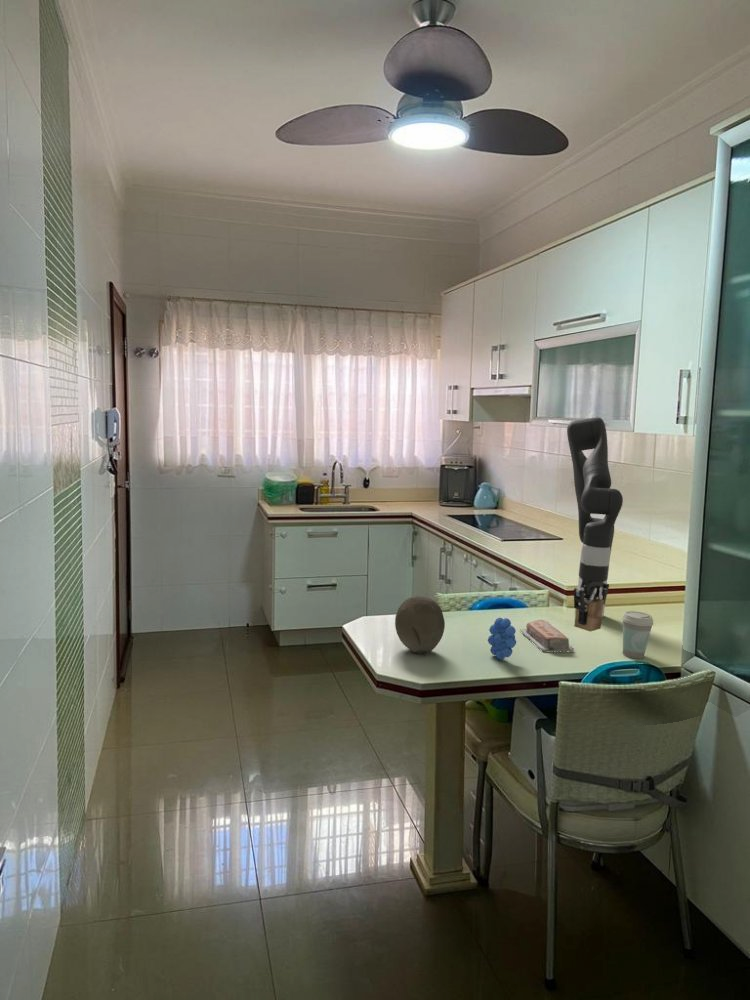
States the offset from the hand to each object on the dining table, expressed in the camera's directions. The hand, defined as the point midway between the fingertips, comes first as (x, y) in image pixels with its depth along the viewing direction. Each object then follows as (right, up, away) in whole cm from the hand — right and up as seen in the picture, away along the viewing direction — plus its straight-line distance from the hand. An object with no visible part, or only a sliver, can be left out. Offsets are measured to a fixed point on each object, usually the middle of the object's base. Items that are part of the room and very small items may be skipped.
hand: (587, 622), depth 198 cm
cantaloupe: (-46, -8, +3) cm, 47 cm away
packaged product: (-7, -10, +19) cm, 22 cm away
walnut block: (0, -2, 0) cm, 1 cm away
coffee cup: (+17, -12, +12) cm, 23 cm away
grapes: (-23, -10, +1) cm, 25 cm away
